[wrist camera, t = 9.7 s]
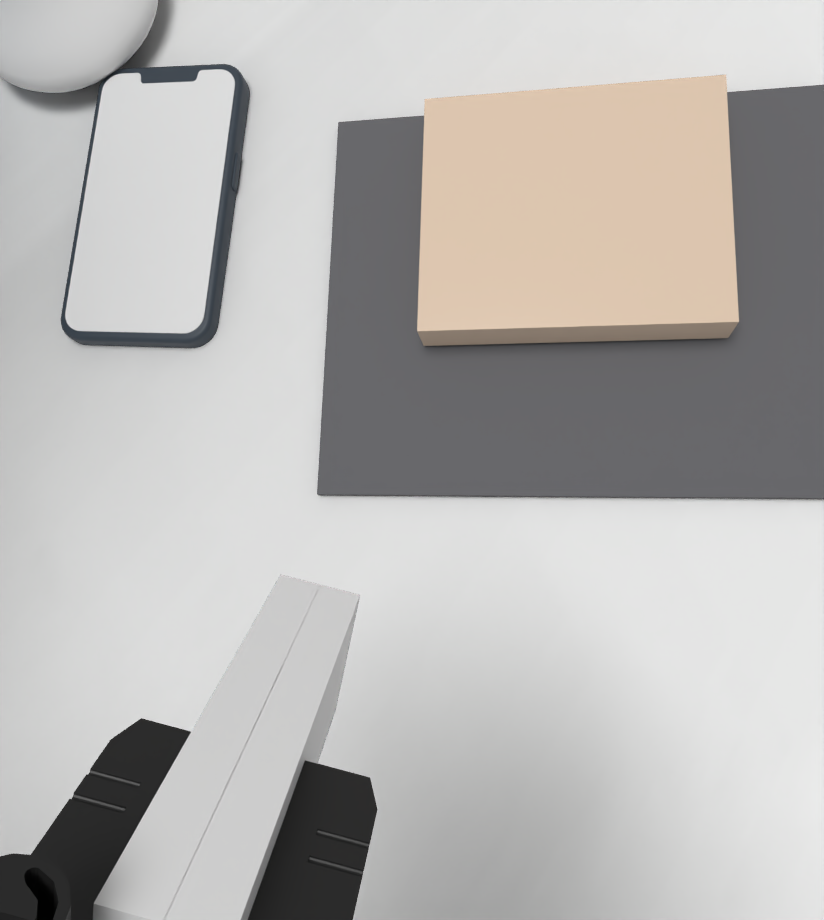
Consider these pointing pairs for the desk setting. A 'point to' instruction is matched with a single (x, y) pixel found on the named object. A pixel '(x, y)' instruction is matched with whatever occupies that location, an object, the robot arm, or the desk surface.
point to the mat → (581, 349)
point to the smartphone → (157, 207)
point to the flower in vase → (69, 40)
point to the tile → (578, 215)
